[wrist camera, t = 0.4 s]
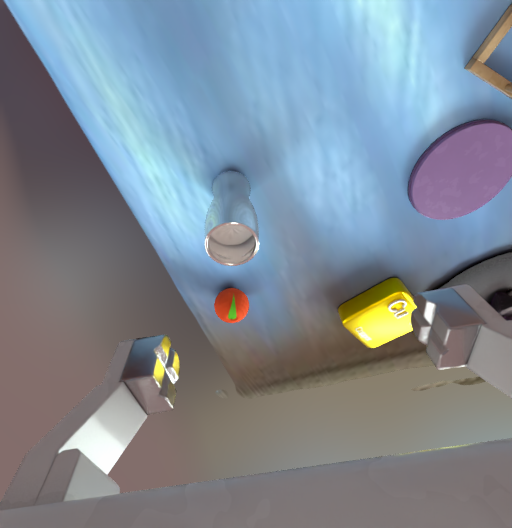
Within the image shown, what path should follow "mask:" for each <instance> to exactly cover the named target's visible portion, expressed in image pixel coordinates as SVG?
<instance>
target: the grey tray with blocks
mask: <svg viewBox="0 0 512 528" xmlns="http://www.w3.org/2000/svg"><path fill="white" fill-rule="evenodd" d="M465 284H466V285H468V286H470V287H472V288H473V289H474V290H475V291H476V292H477V293H478V294H479V295H480V296H481V297H482V298H483V299H484V300H485V301H486V302H487V303H488V304H489V305H490V306H491V307H492V308H494V309H495V310H496V311H497V312H498V313H499V314H500V315H501V316H502V317H503V318H504V319H505V320H506V321H508V320H512V252H510V253H507V254H503V255H500V256H497V257H494V258H492V259H489V260H486V261H484V262H482V263H480V264H478V265H476V266H473V267H472V268H469V269H467V270H466V271H464V272H462V273H461V274H459V275H457V276H456V277H455V278H453V279H452V280H450V281H449V282H448V283H447V284H445V285H444V286H442V287H440V288H439V289H443V288H449V287H454V286H460V285H465ZM507 289H510V291H507V292H505V291H506V290H507Z"/></svg>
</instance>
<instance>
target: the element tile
mask: <svg viewBox="0 0 512 528" xmlns="http://www.w3.org/2000/svg"><path fill="white" fill-rule="evenodd" d="M413 300H414V297H413V296H412V294H411V293H410V292H409V290H408V289H407V288H406V287H405V285H404V284H403V283H402V281H401V280H400V279H398V278H390V279H387V280H385V281H383V282H382V283H380V284H378V285H376V286H374V287H373V288H371V289H369V290H367V291H365V292H363V293H362V294H360V295H358V296H356V297H354V298H353V299H351V300H349V301H347V302H345V303H343V304H342V305H341V306H340V307H339V308H338V313H339V315H340V318H341V321H342V324H343V326H344V327H345V328H346V329H348V330H349V331H350V332H351V333H352V334H353V335H354V336H355V337H357V338H358V339H359V340H360V341H361V342H362V343H363V344H364V345H366V346H367V347H370V348H375V347H377V346H380V345H382V344H384V343H386V342H388V341H390V340H393V339H395V338H397V337H399V336H401V335H403V334H405V333H408V332H410V331H412V326H411V321H410V319H411V312H412V311H413V310H414V309H415V308H416V306H415V304H414V303H413Z"/></svg>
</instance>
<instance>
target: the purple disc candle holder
mask: <svg viewBox="0 0 512 528" xmlns="http://www.w3.org/2000/svg"><path fill="white" fill-rule="evenodd" d="M511 176H512V129H511V128H510V127H509V126H507V125H506V124H504V123H502V122H499V121H496V120H490V119H482V120H475V121H471V122H467V123H465V124H462V125H459V126H457V127H455V128H453V129H451V130H450V131H448V132H446V133H445V134H443V135H442V136H441V137H439V138H438V139H437V140H436V141H435V142H433V143H432V144H431V145H430V146H429V147H428V148H427V149H426V151H425V152H424V153H423V154H422V156H421V157H420V158H419V160H418V161H417V163H416V165H415V167H414V169H413V171H412V173H411V176H410V179H409V184H408V195H409V200H410V202H411V204H412V206H413V207H414V208H415V209H416V210H417V211H418V212H419V213H420V214H422V215H424V216H426V217H429V218H432V219H438V220H446V219H453V218H458V217H461V216H464V215H466V214H469V213H471V212H473V211H475V210H477V209H478V208H480V207H482V206H483V205H485V204H486V203H487V202H489V201H490V200H491V199H492V198H494V197H495V196H496V195H497V194H498V193H499V192H500V191H501V190H502V188H503V187H504V186H505V185H506V184H507V182H508V181H509V180H510V178H511Z"/></svg>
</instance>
